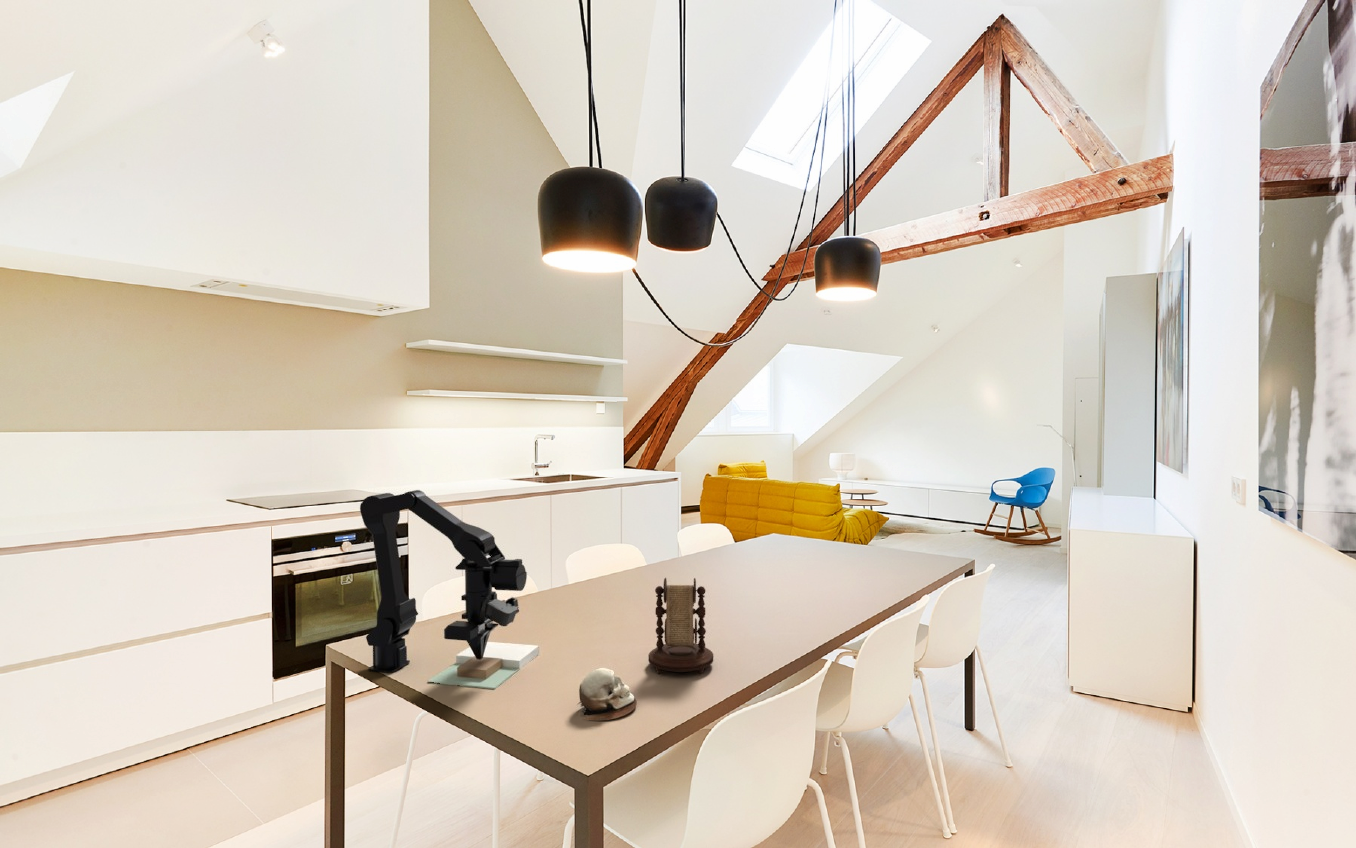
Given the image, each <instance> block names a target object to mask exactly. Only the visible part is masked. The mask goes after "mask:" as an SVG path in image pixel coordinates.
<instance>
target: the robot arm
mask: <svg viewBox="0 0 1356 848" xmlns="http://www.w3.org/2000/svg"><path fill="white" fill-rule="evenodd" d="M405 510H409V511H410V512H412V513H413V514H415V516H417V517H419V518H420V519H421V520H423V521H424V522H426V523H427V524H428V525H429V526H430V527H433V528H434V529H435V530H436V531H438V532H439V533H441V534H442V535H444V536H445V537H446V538H447V539H448V540H449V541H450V543H451V544H452V546H453V548H454V549H455V550H456V551H457V552H458V553H459V555H461V557H463V558H462V559H461V561H460V562H459V564H457V565H456V566H455V570H457V571H464V582H465V583H464V584H465V587H464V590H465V591H464V593H465V594H462V595H461V597H460V598H461V601H465V604H464V605H465V612H463V613H462V614H461V619H462V620H455V621H453V622H452V623H450V624H448V625H447V626H446V627H445V628H444V629H443V638H444V640H454V641H465V642H467V644H468V646H469V647H470V648H471V650H472V651H473V653H474V655H475V657H476V659H479V660H480V659H482V658H483V655H484V652H485V648H486V645H487V642H489V637H490V636H491V635H490V634H491V633H492V631H494V630H495V628H497V627H498V626H501V627H508V625H510V624H511V623H514V622H515V618H516V615H517V614H519V612H520V609H519V602H518V601H519V600H518V598H516V597H514V596H511V597H510V598H507V600H505V599H502V600H500V599H498V593H497V591H511V592H512V591H513V592H521V591H523V590H524V588H525V586H526V584H527V578H528V576H527V575H528V572H527V570H526V567H525V565H524V564H523V559H522V558H515V559H506V557H505V555H504V554H503V553H502V551H501V550H500V548H499V547H498V545H497V544H496V542H495V537H494V535H493V534H492V533H491V532H490V531H487V530H485V529H483V528H481V527H479V526H475V525H473V524H469V523H467V522H464V521H463V520H462V519H459V517H457V516H455V515H454V514H453V513H451V511H449V510H447V509H445V507H443V506H442V505H440V504H439V503H437V502H436V501H434V500H433V499H432V498H430V497H429V496H428V495H426V493H425V492H424V491H422V490H420V489H416V490H411V491H410V490H409V491H407V492H406V491H405V492H404V493H402V494H397V495H394V493H391V492H384V493H379V494H373V495H369V496H367V497H366V498H364V499H363V500H362V502H360V504H359V512H360V515H361V518H362V522H363V525H364V526H365V527H366V529H367V530H368V532H369V533H370V535H371V536H372V542H373V548H374V554H375V555H374V556H375V562H376V563H375V564H376V569H377V571H376V572H377V576H378V577H377V578H378V582H379V583H378V584H379V591H380V602H379V603H378V607H377V610H376V625H375V627H373V629H372V630H371V631H370V632H369V633H368V634H367V635H366V636H365V638H366V639H365V640H366V643H367V645H368V646H369V647H371V646H372V666H369V667H368V668H367V670H368V671H371V672H381V673H394V672H395V673H396V671H398V670H399V669H402V668H403V667H405V666H407V665H409V664H410V660H409V659H408V657H407V656H408V652H407V650H408V649H407V647H408V646H407V645H406V638H404V637H405V636H408V635H409V634H410V630H411V628H413V626H414V625H415V623H416V622H417V616H418V615H419V612H418V611H417V606H416V605H417V600H416V598H415V597H412V598H409V596H408V595H407V594H406V592H405V588H404V583H403V582H404V581H403V580H404V579H403V575H402V574H403V573H402V567H401V560H400V554H399V547H398V539H397V532H396V531H397V528H398V524H399V520H400V519H401V518H400V516H401V515H400V514H401V511H405ZM487 556H488V557H487ZM493 588H494V591H493ZM495 590H496V591H495ZM465 620H466V621H465Z"/></svg>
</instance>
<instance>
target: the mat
mask: <svg viewBox="0 0 1356 848" xmlns="http://www.w3.org/2000/svg"><path fill="white" fill-rule="evenodd" d="M460 665H462V664H461V663H456V662H455V663H453V664H452V665H450V666H449V667H447V668H445V669H444V670H442V671H441V672H440V673H438V674H436V675H435V676H433V677H432V678H430V679H429V680H427V682H434V683H433V684H437V683H440V684H439V685H447V686H448V685H449V686H457V685H460V686H459V687H469V688H479V689H480V688H481V689H489V690H496V689H497V688H498V687H500V686H501V685H502V684H503V683H504V682H506V681H507V680H508V679H510V678H511V677H512V676H513V675H515V674H516V673H517V672H518V671H520V670H519V669H518V668H507V667H502V668H501V669H499V670H498V671H497V672H495V673H494V674H493V675H491V676H490V677H489V678H487V679H478V678H467V677H457V667H459V666H460Z"/></svg>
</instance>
